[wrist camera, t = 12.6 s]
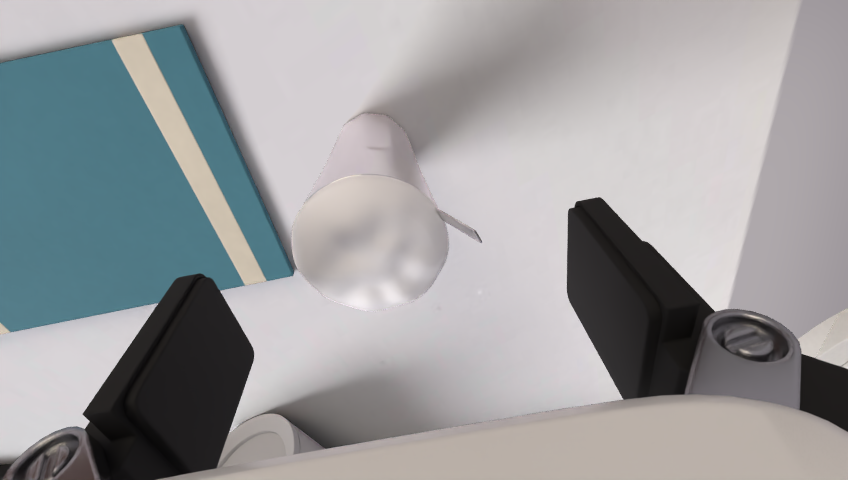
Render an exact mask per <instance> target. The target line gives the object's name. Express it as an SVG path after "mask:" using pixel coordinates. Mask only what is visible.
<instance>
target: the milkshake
mask: <svg viewBox="0 0 848 480" xmlns="http://www.w3.org/2000/svg"><path fill="white" fill-rule="evenodd" d="M444 221H445V222H447V223H448V224H450V225H451V226H453V227H455V228H456V229H458V230H460V231H461V232H463V233H465V234H466V235H468V236H470V237H471V238H473V239H474V240H476V241H478V242H480V243H482V241H481V239H480V237H479V235H478V234H477V232H476V231H475V230H474V229H473V228H471V227H469V226H467V225H466V224H464V223H462V222H460V221H459V220H457V219H455V218H453V217H452V216H450V215H448V214H446V213H445V212H443V211H441V210H439V209H438V207H437V205H436V202H435V200H434V198H433V196H432V194H431V192H430V190H429V188H428V186H427V183H426V181H425V179H424V177H423V175H422V172H421V170H420V167H419V165H418V162H417V160H416V157H415V154H414V152H413V149H412V147H411V144H410V142H409V139H408V137H407V134H406V132H405V130H404V129H403V128H401V127H400V126H399V125H398V124H397V123H396V122H395V121H393V120H392V119H391V118H390V117H389V116H388V115H381V114H371V113H362V114H361V115H359V116H358V117H356V118H354V119H353V120H351V121H349V122H347V123H346V124H344V125H343V127H342V129H341V131H340V134H339V136H338V138H337V140H336V143H335V145H334V147H333V149H332V151H331V154H330V156H329V158H328V160H327V162H326V164H325V166H324V168H323V170H322V172H321V173H320V175H319V177H318V179H317V180H316V182H315V184H314V186H313V188H312V189H311V191H310V193H309V195H308V197H307V199H306V200H305V202H304V204H303V206H302V207H301V209H300V210H299V212H298V214H297V216H296V218H295V220H294V222H293V226H292V233H291V242H292V253H293V258H294V262H295V265H296V267H297V269H298V271H299V272H300V274H301V275H302V276H303V277H304V278H305V280H306V281H307V282H308V283H309V284H310V285H311V286H312V287H313V288H314V289H315V290H316V291H317V292H319V293H320V294H321V295H322V296H324V297H325V298H327V299H329V300H331V301H333V302H336V303H339V304H342V305H345V306H349V307H352V308H355V309H358V310H362V311H381V310H386V309H390V308H393V307H397V306H400V305H405V304H408V303H411V302H413V301H415V300H416V299H418V298H419V297H421V296H422V295H423V294H424V293H426V292H427V290H428V289H429V288H430V287H431V286H432V284H433V283H434V281H435V280H436V278H437V276H438V274H439V273H440V271H441V269H442V267H443V266H444V264H445V261H446V259H447V255H448V250H449V238H448V232H447V228H446V225H445V222H444Z"/></svg>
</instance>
